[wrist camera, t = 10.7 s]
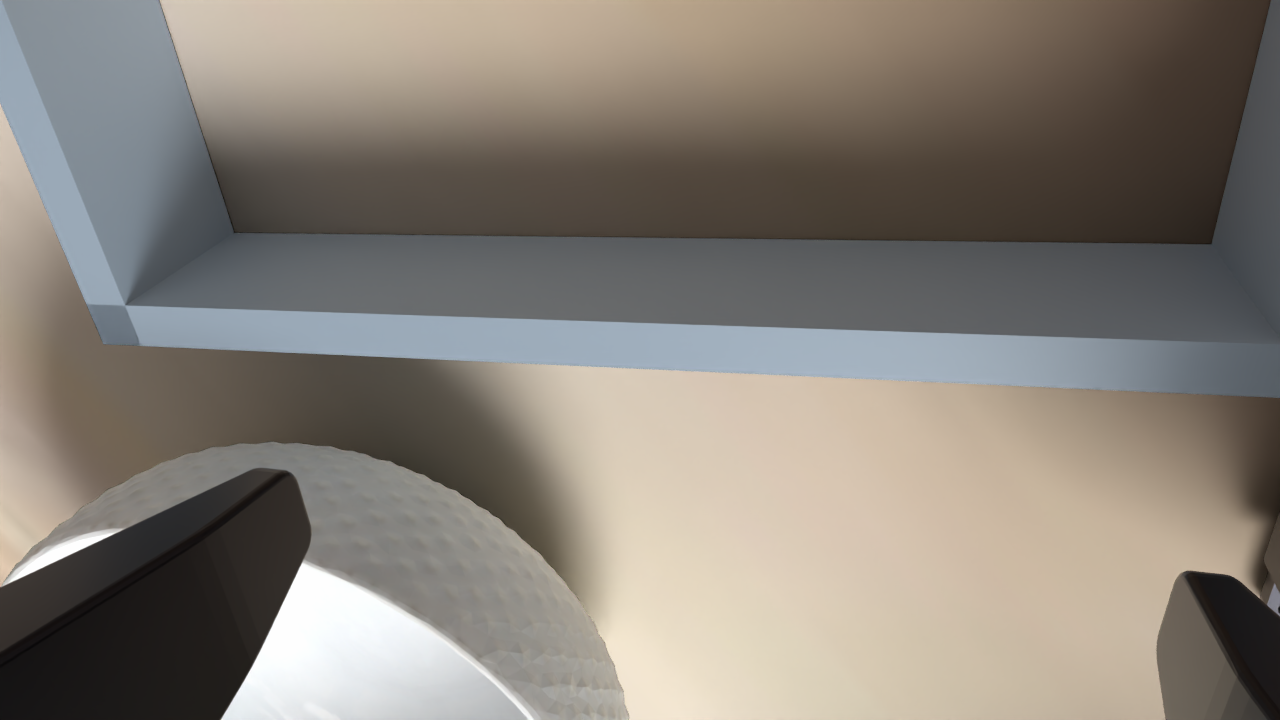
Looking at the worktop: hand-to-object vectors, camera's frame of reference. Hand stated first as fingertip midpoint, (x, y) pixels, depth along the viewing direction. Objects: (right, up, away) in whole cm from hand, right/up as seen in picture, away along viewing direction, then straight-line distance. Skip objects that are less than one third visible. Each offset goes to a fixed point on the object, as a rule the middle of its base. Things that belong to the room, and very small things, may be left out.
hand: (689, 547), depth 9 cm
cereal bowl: (-8, -5, +20) cm, 22 cm away
